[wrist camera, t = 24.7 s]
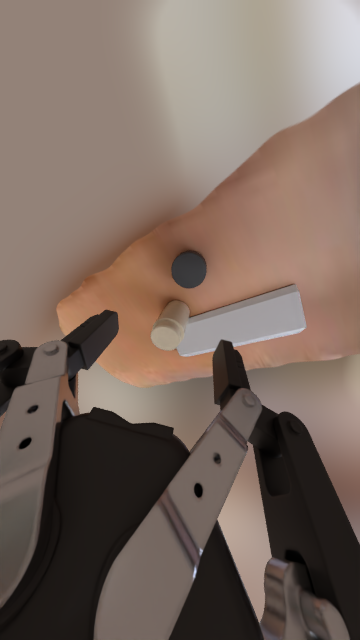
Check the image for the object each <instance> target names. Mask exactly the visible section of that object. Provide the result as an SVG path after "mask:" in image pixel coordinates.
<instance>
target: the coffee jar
mask: <svg viewBox="0 0 360 640" xmlns="http://www.w3.org/2000/svg"><path fill="white" fill-rule="evenodd" d="M189 316H190V310H189V308H188V306H187V305H186V304H185V303H184V302H182V301H177V300H175V301H171V302H169V303H168V304H167V305H166V307H165V308H164V310H163V311H162V313H161V314H160V316H159V317H158V319H157V320H156V322H155V323H154V325H153V330H152V332H151V340H152V342H153V344H154V345H155V346H156V347H158V348H160V349H162V350H167V351H169V350H173V349H175V348H177V347H178V345H179V344H180V342H181V341H182V340H183V338H184V335H185V331H186V327H187V324H188V320H189Z"/></svg>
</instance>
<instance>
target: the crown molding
mask: <svg viewBox="0 0 360 640" xmlns="http://www.w3.org/2000/svg"><path fill="white" fill-rule="evenodd" d="M305 328H306V322H305V317H304V313H303V308H302V303H301V298H300V293H299V290H298V288H297V286H296V285H295V284H294V285H291V286H288V287H285V288H281V289H278V290H275V291H272V292H269V293H266V294H263V295H260V296H256V297H253V298H250V299H247V300H244V301H241V302H238V303H235V304H231V305H228V306H225V307H222V308H219V309H216V310H213V311H210V312H206V313H203V314H200V315H197V316H194V317H191V318H189V320H188V324H187V327H186V331H185V335H184V338H183V340H182V341H181V342H180V344H179V345H178V347H177V350H178V353H179V355H180V356H186V357H188V356H193V355H198V354H202V353H207V352H212V351H215V350H216V348H217V346H218V344H219V342H220V340H221V339H223V340H227V341H231V342H232V344H233V347H235V346H240V345H244V344H249V343H254V342H258V341H263V340H268V339H272V338H277V337H282V336H286V335H291V334H296V333H299V332H301V331H302V330H304V329H305Z"/></svg>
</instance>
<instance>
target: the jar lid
mask: <svg viewBox="0 0 360 640" xmlns="http://www.w3.org/2000/svg"><path fill="white" fill-rule="evenodd" d="M171 270H172V276H173V279H174V280H175V282H176V283H177V284H178V285H180V286H181V287H184V288H194V287H197V286H198V285H200V284H201V283H202V282H203V280H204V279H205V276H206V262H205V259H204V258H203V256H202V255H201V254H199V253H198V252H196V251H190V250H189V251H185V252H182V253H181V254H180V255H179V256H178V257H177V258H176V259H175V260H174V262H173V264H172V269H171Z"/></svg>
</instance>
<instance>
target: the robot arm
mask: <svg viewBox="0 0 360 640" xmlns="http://www.w3.org/2000/svg"><path fill="white" fill-rule="evenodd" d="M118 330H119V325H118V314H117V312H114V311H110V310H105V311H103V312H102V313H101V314H100V315H98V314H97V315H95V316H92V317H90V318H89V319H87V320H86V321H85V322H84V323H82V324H81V325H80V326H78V327H77V328H76V329H75V330H73V331H72V332H71V333H70V334H68V335H67V336H66V337H65V338H63V339H62V340H61V341H59V340H58V341H51V342H47V343H44V344H42V345H41V346H39V347H21V346H20V344H19V343H18V342H17V341H15V340H2V341H0V416H1V415H3V413H4V412H6V411H7V412H6V415H5V418H4V420H3V424H2V426H1V429H0V640H360V544H359V542H358V540H357V538H356V536H355V533H354V531H353V529H352V527H351V524H350V522H349V520H348V518H347V516H346V514H345V511H344V509H343V507H342V504H341V502H340V500H339V498H338V496H337V494H336V491H335V489H334V487H333V485H332V482H331V480H330V478H329V476H328V474H327V471H326V469H325V467H324V465H323V463H322V461H321V458H320V456H319V454H318V452H317V450H316V447H315V445H314V443H313V441H312V438H311V436H310V434H309V432H308V430H307V428H306V427H305V425H304V424H303V423H302V422H301V421H300V420H299V419H298V418H297V417H296V416H294V415H293V414H291V413H289V412H281V413H280V414H277V413H275V412H273V411H272V410H270V409H268V408H266V407H265V406H263V405H262V404H261V402H260V400H259V398H258V397H257V396H256V395H255V394H254V393H253V392H252V391H251V390H250V386H249V382H248V378H247V375H246V371H245V367H244V364H243V360H242V356H241V355H240V353H239V352H238V351H237V350H234V348H233V344H232V342H231V341H227V340H223V339H221V340H220V342H219V344H218V346H217V348H216V350H215V352H214V354H213V360H212V361H213V382H214V402H215V404H217V405H220V409H221V411H220V412H219V413H218V415H217V416H216V418H215V419H214V420H213V421H212V423H211V424H210V425H209V427H208V428H207V429H206V431H205V432H204V433H203V435H202V436H201V437H200V439H199V440H198V441H197V442H196V444H195V445H194V446H193V448H192V449H191V451H190V452H189V450H188V449H187V447H186V446H185V444H184V443H183V442H182V441H181V440H180V439H179V438H178V437H177V436H175V435H174V434H173V430H174V428H172V427H168V426H165V425H160V424H157V423H138V424H132V423H129V422H128V421H126V420H125V419H123V418H122V417H120V416H119V415H117V414H116V413H114V412H112V411H108V410H104V409H100V408H96V407H93V409H92V410H91V412H90V413H84V414H80V413H79V407H78V371H79V370H80V369H81V368H82V369H85V370H88V369H89V368H90V367H91V366H92V364H93V363H94V362H95V361H96V360H97V358H98V357H99V356H100V355H101V354H102V352H103V351H104V350H105V349H106V347H107V346H108V345H109V344H110V343H111V341H112V340H113V339H114V338H115V336H116V335H117V333H118ZM247 441H248V442H250V443H251V444H253V448H254V454H255V460H256V466H257V472H258V478H259V484H260V489H261V495H262V501H263V507H264V513H265V519H266V525H267V531H268V536H269V543H270V548H271V554H272V558H271V559H270V560H269V561H268V562H267V565H266V568H265V574H264V591H265V608H264V613H263V617H262V619H261V621H260V623H259V622H258V619H257V617H256V614H255V611H254V609H253V606H252V604H251V601H250V599H249V597H248V594H247V592H246V589H245V587H244V584H243V582H242V580H241V577H240V574H239V572H238V570H237V567H236V564H235V562H234V559H233V557H232V555H231V552H230V550H229V547H228V545H227V542H226V540H225V537H224V535H223V532H222V530H221V527H220V525H219V522H218V520H217V518H218V516H219V514H220V512H221V509H222V507H223V505H224V503H225V500H226V498H227V496H228V494H229V491H230V489H231V487H232V485H233V483H234V480H235V478H236V476H237V474H238V471H239V469H240V467H241V465H242V462H243V460H244V458H245V456H246V453H247V450H248V446H247Z"/></svg>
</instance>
